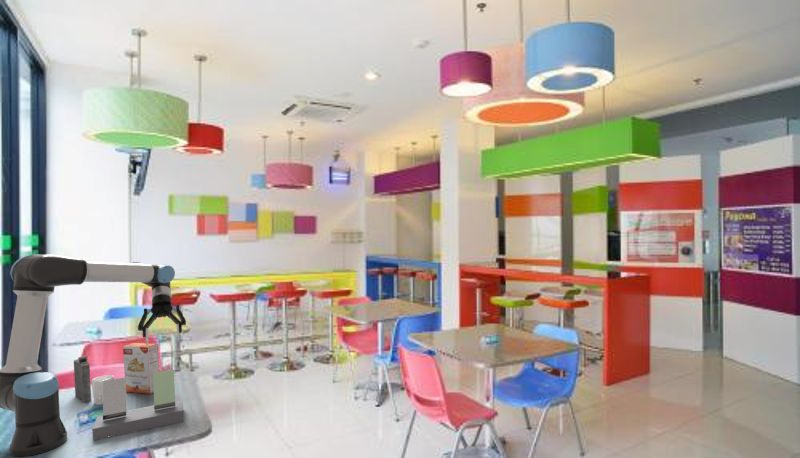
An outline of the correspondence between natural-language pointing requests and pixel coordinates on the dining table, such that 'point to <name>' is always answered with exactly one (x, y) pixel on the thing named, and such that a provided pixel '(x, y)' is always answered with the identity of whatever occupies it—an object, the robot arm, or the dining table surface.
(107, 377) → the white cup
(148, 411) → the panel
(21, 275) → the robot arm
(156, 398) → the pale green flat slab
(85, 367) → the flask
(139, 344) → the cracker box
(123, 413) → the light grey rectangular slab
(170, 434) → the dining table surface
